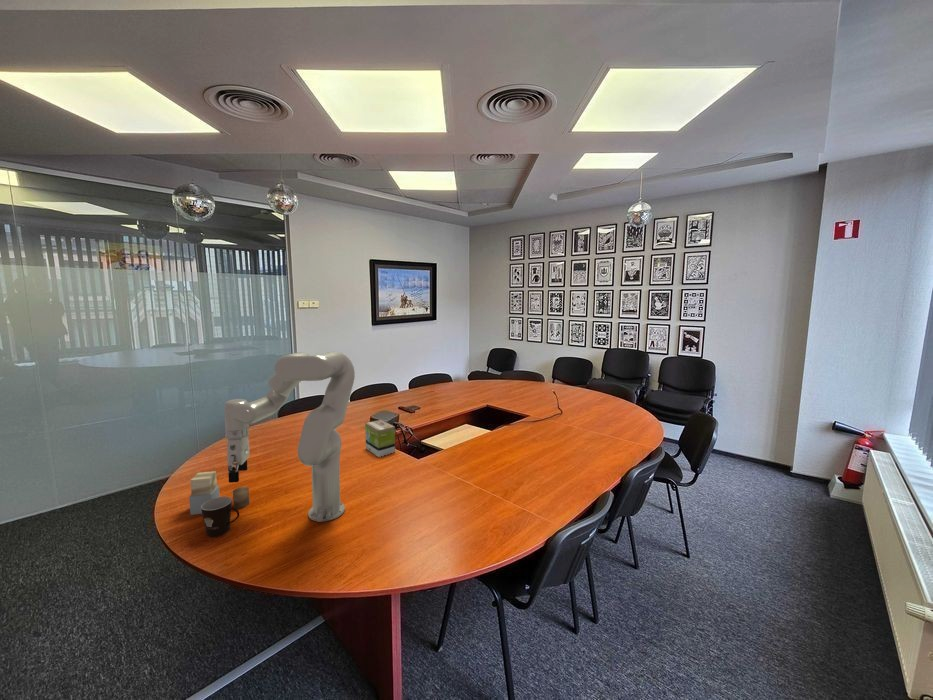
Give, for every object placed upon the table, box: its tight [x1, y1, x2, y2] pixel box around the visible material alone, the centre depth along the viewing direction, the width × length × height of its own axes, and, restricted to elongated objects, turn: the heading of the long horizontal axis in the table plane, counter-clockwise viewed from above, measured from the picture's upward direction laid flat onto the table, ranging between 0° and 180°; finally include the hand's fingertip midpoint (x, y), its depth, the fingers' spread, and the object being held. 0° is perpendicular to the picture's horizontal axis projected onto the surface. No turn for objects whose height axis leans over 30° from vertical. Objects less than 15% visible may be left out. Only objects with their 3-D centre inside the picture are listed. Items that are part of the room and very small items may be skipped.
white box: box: [188, 485, 221, 516], centre depth 138 cm, size 7×7×7 cm
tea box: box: [364, 419, 396, 458], centre depth 195 cm, size 15×10×15 cm, turn 42°
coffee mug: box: [201, 496, 240, 538], centre depth 123 cm, size 12×9×10 cm
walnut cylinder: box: [232, 486, 250, 510], centre depth 141 cm, size 5×5×6 cm
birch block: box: [190, 470, 218, 496], centre depth 137 cm, size 6×6×6 cm
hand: (238, 476), depth 140 cm, fingers open, 9 cm apart
